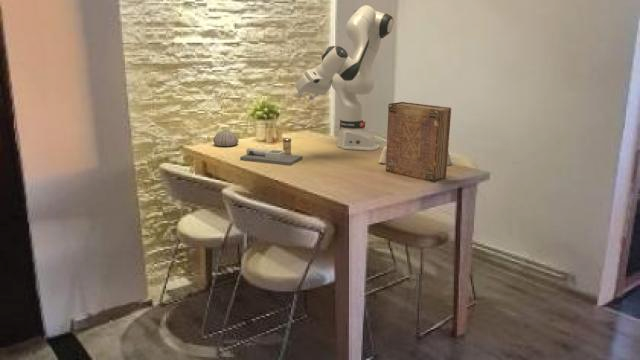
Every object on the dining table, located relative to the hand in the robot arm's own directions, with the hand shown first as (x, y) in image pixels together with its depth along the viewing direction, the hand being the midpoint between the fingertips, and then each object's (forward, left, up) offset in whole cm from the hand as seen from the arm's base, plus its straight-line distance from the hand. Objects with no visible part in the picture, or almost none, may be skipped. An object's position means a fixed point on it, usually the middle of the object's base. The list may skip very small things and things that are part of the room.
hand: (303, 98), depth 262 cm
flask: (-66, -13, -29) cm, 73 cm away
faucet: (-43, -8, -29) cm, 52 cm away
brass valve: (+9, 0, -29) cm, 30 cm away
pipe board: (+11, +13, -29) cm, 33 cm away
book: (-58, +12, -29) cm, 66 cm away
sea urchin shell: (+48, -7, -29) cm, 56 cm away
